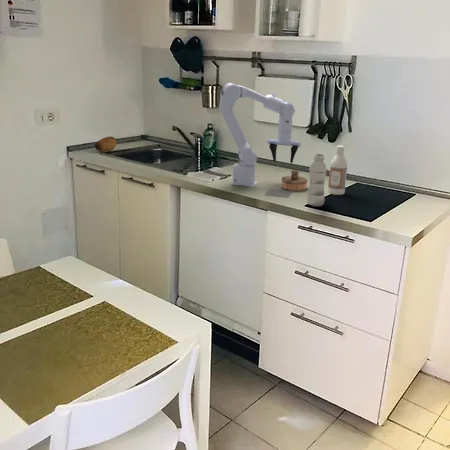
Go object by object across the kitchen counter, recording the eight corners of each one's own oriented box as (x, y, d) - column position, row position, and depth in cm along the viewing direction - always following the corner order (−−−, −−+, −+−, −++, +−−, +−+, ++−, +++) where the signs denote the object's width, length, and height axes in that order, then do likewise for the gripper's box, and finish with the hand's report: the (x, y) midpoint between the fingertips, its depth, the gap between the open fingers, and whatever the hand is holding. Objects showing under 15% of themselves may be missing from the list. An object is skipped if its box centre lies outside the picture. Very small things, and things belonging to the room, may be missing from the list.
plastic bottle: (323, 209, 201) (328, 157, 194) (305, 207, 202) (309, 156, 195) (324, 204, 207) (328, 153, 200) (306, 202, 208) (310, 152, 201)
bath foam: (325, 193, 221) (329, 146, 214) (330, 190, 227) (335, 143, 220) (341, 196, 218) (346, 148, 211) (346, 192, 224) (351, 145, 217)
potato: (100, 159, 288) (90, 149, 289) (118, 150, 296) (109, 140, 298) (103, 149, 282) (93, 140, 284) (121, 140, 291) (111, 131, 292)
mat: (263, 196, 215) (263, 194, 215) (269, 190, 224) (270, 188, 224) (287, 198, 212) (287, 197, 212) (293, 192, 221) (293, 191, 221)
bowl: (280, 189, 225) (280, 182, 224) (285, 184, 234) (286, 176, 233) (303, 192, 222) (304, 184, 221) (307, 186, 231) (308, 179, 230)
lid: (278, 182, 223) (279, 172, 222) (285, 176, 233) (285, 167, 231) (304, 185, 219) (304, 175, 218) (309, 179, 229) (310, 169, 228)
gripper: (266, 130, 226) (264, 161, 231) (299, 133, 222) (297, 165, 226) (270, 128, 232) (268, 158, 237) (302, 131, 228) (300, 161, 233)
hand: (283, 161), depth 232 cm, fingers open, 7 cm apart
